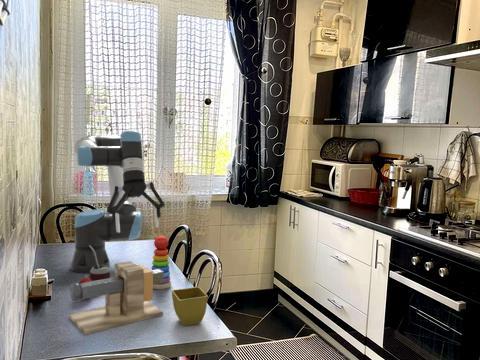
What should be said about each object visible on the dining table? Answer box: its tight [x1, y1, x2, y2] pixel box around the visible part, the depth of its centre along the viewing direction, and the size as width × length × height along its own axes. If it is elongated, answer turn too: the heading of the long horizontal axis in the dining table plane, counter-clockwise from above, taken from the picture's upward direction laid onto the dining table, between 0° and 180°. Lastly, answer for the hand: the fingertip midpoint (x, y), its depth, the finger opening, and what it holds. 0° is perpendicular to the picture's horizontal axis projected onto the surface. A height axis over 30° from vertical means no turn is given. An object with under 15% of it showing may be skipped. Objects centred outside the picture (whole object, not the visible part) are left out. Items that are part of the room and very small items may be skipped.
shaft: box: [69, 269, 164, 303], centre depth 136 cm, size 5×28×5 cm, turn 128°
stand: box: [69, 260, 164, 336], centre depth 135 cm, size 14×24×15 cm, turn 128°
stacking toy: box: [150, 235, 172, 290], centre depth 162 cm, size 8×8×19 cm
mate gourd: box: [88, 245, 111, 281], centre depth 158 cm, size 8×8×15 cm
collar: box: [137, 263, 154, 302], centre depth 140 cm, size 9×3×9 cm, turn 38°
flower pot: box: [171, 286, 209, 327], centre depth 133 cm, size 9×9×9 cm
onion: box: [78, 275, 92, 300], centre depth 149 cm, size 6×6×8 cm
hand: (137, 229), depth 157 cm, fingers open, 13 cm apart
